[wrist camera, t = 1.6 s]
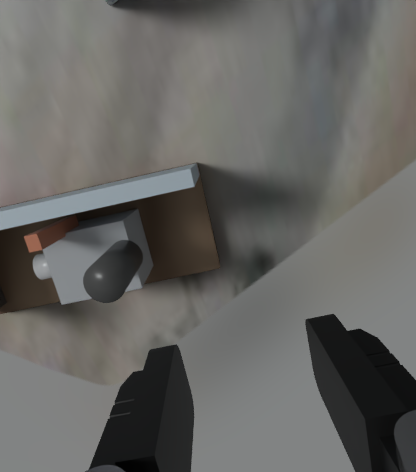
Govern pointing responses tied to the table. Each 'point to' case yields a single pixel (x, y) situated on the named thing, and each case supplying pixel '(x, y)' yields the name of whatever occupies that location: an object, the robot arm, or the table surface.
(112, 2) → the medicine box
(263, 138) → the table surface
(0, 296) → the textured charcoal block
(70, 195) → the board
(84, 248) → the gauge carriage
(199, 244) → the base
